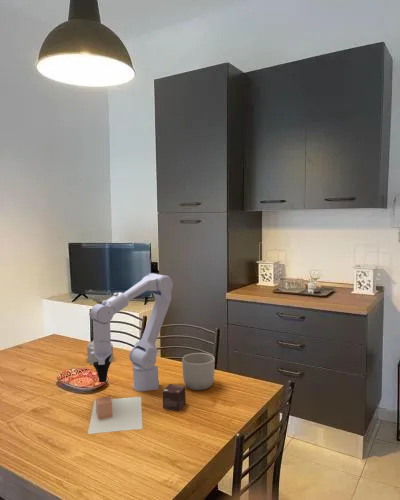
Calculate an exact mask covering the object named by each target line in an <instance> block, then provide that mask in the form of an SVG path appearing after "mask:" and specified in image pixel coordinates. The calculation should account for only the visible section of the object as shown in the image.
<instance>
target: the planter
mask: <svg viewBox="0 0 400 500" xmlns="http://www.w3.org/2000/svg"><path fill="white" fill-rule="evenodd" d="M181 360H182V361H181V362H182V363H181V364H182V378H183V383H184V386H185V387H186V388H188V389H190V390H193V391H204V390H207V389H210V388H211V386H212V385H213V383H214V379H215V361H216V359H215V356H214V355H212V354H210V353H206V352H193V353H188V354H186V355H184V356H183V357H182V359H181Z"/></svg>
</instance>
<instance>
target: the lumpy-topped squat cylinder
mask: <svg viewBox="0 0 400 500" xmlns="http://www.w3.org/2000/svg"><path fill="white" fill-rule="evenodd" d="M113 346H114V345H113V344H112V343H111V351H112V355H111V357H110V360H109V362H111V363H113V362H114V347H113ZM86 347H87V348H86V350H87V351H86V353H87V354H86V355H87V362H88V363H89V364H90V365H93V363H94V362H98V360H97V358H96V357H95V356H94V355H91V352H93V351H94V339H93V340H91V342H88V344H87V345H86ZM93 366H94V365H93Z"/></svg>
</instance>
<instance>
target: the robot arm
mask: <svg viewBox="0 0 400 500" xmlns="http://www.w3.org/2000/svg"><path fill="white" fill-rule="evenodd" d="M173 288H174V283H173V280H172V279H171V277H170V276H169V275H166V274H165V275H163V274H159V273H154V272H150V273H148V274H147V275H146V276H143V277H142V279H141V280H140V281H139V282H137V283H136V284H134V285H132V286H131V287H130V288H128V289H127V290H126V291H124V292H121V291H120V292H114V293H113V294H112V296H111V297H109V298H108V299H106V300H102V301H101V303H97V304H94V305H93V306H92V308H91V309H90V312H89V313H88V314H89V318H90V319H91V320H92V327H93V328H92V329H93V330H92V332H93V333H92V334H93V340H94V351H93V352H91V355H94V356H95V357H96V358H97V360H98V362H94V363H93V368H94V369H95V371H96V373H97V377H98V381H99V383H106V382H107V379H108V371H109V368H110V366H111V363H112V362H109V360H110V357H111V355H112V351H111V344H112V342H111V341H112V340H111V334H112V333H111V321H112V320H113V317H114V316H115V315H117V314H118V313H119V312H120V311H122V310H124V309H125V308H126V307H128V305H129V302H130V301H131V300H133V299H135V298H137V297H138V296H140V295H142V294H143V293H145V292H147V291H148V292H151V293H152V295H153V297H154V299H155V301H154V304H153V305H152V306H153V307H152V309H151V312H150V315H149V317H148V320H147V323H146V325H145V328H144V331H143V333H142V336H141V339H139V340H138V341H137V342H135V344H134V347H132V349H131V350H130V352H129V360H130V362H131V363H132V371H133V372H132V374H133V375H132V376H133V378H132V379H133V384H132V388H133V390H134V391H136V392H148V391H155V390H156V391H157V390H160V388H159V387H160V380H159V366H158V365H155V364H156V362H157V353H158V349H157V346H156V342H157V339H158V337H159V335H160V331H161V329H162V326H163V324H164V322H165V317H166V315H167V312H168V309H169V306H170V304H171V302H172V289H173Z"/></svg>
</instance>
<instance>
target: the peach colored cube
mask: <svg viewBox="0 0 400 500" xmlns="http://www.w3.org/2000/svg"><path fill="white" fill-rule="evenodd" d="M111 399H112V398H111V397H110V396H109V395H108V396H103V397H99V398H95V400H96V414H97V417H98V419H102V418H107V417H112V401H111Z"/></svg>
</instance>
